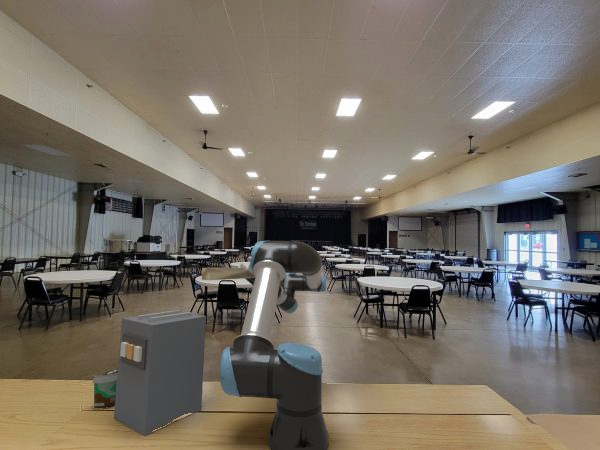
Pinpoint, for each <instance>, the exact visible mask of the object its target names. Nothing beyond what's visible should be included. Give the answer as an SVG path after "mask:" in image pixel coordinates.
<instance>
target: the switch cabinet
mask: <svg viewBox="0 0 600 450" xmlns="http://www.w3.org/2000/svg"><path fill="white" fill-rule="evenodd" d="M206 323H207V316H206V315H200V314H194V313H192V312H191V311H187V312H184V311H181V309H178V310H171V311H163V312H156V313H149V314H147V313H146V314H141V315H137V316H130V317H123V318H121V327H120V340H119V341H120V342H119V350H118V351H119V354H118V364H117V369H118V374H117V386H116V398H115V406H114V410H113V413H114V414H113V419H114V418H115V420H116V419H117V420H116V421H118V422H119V423H121V424H123V425H125V426H127V427H128V428H130V429H131V430H133V431H135V432H137V433H138V434H140V435H142V436H143V437H146V436H149V435H151V434H152V433H151V432H152V431H153V430H155V429H158V428H160V427H163V426H165V425H167V424H168V423H170V422H172V421H173V420H174V419H176V418H178V417H180V416H182V415H184V414H188V413H194V414H196V413H198V412H200V411H202V405H203V403H202V402H203V385H204V384H203V383H204V367H205V366H204V365H205V364H204V363H205V345H206V343H205V342H206V329H207V328H206V326H207V324H206ZM150 433H151V434H150Z"/></svg>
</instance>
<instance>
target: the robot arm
mask: <svg viewBox="0 0 600 450" xmlns="http://www.w3.org/2000/svg"><path fill="white" fill-rule="evenodd" d="M249 258H250V259H249V263H247V266H246V265H245V264H243V263H242V262H240V263H239V264H238V267H237V268H246V270H248V271H249V272H250V273H251V274H252V275H253V276H255V278H245V279H244V280H246V281H247V282H248V283H249V284H250V285H252V290H251V294H250V298H249V303H248V305H247V309H246V313H245V317H244V321H243V325H242V328H241V332H240V333H241V334H240V335H237V336H236V337H235V338H234V340H233V343H232V346H228V347H227V346H226V347H224V349H223V350H222V353H221V357H220V365H219V381H220V386H221V389H222V391H223V392H224V394H226V395H228V396H233V397H234V396H235V397H238V398H245V397H246V398H261V399H274V400H276V411H275V413H274V416H273V420H272V422H271V426H270V428H269V432H268V445H269V449H270V450H327V449H328V447H329V432H328V429H327V425H326V421H325V418H324V414H323V411H322V405H323V404H322V402H323V400H322V399H323V396H322V395H323V392H322V390H323V387H322V386H323V385H322V384H323V383H322V382H323V379H322V378H323V377H322V376H323V372H324V369H323V362H322V360H323V359H322V354H321V353H320V352H319V350H317V349H316V348H314V347H311V346H309V345H306V344H302V343H297V342H296V343H294V342H289V343H287V342H285V343H284V342H283V343H281V344H279V346H278V347H277V348H276V349H275V345H274V343H273V342H272V340H271V337H272V330H273V325H274V319H275V313H276V308H277V307H278V308H279V309H280V310H282V311H283V312H284V313H286V314H293V313H295V312H296V310H297V309H298V307H299V305H298V301H297V300H296V298H295V297H296V296H295V295H296V292H311V293H312V292H314V293H315V292H316V293H321V292H322V293H324V292H326V290H327V277H326V275H325V276H324V275H322V274H321V270H322V266H323V260H322V257H321V254H320V253H319V252H318V251H317V250H316V249H315V248H314V247H313V246H311V245H309V243H306V242H304V241H303V242H302V241H299V240H297V241H295V240H294V241H293V240H261V241H260V240H259V241H257V242H256V243H255V244H254V246H253V247H252V250H251V253H250V257H249ZM301 274H302V275H301Z"/></svg>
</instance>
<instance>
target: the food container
mask: <svg viewBox="0 0 600 450" xmlns="http://www.w3.org/2000/svg"><path fill="white" fill-rule="evenodd" d="M117 374H118V368H115V369H111V370H109V371H107V372H105V373H104V374H102V375H94V377H93V379H92V384H94V385H93V390H94V391H93V409H94V408H103V409H107V408H106V407H109V408H112V407H115V398H116V386H117Z"/></svg>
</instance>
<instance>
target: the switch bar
mask: <svg viewBox="0 0 600 450" xmlns="http://www.w3.org/2000/svg"><path fill="white" fill-rule="evenodd" d="M201 269H202V270H201V280H202V281H203V280H204V281H216V280H217V281H221V280H239V279H240V280H243V279H244V280H246V279H245V278H255V276H253V275H252V274H251V273H250V272H249V271H248V270H246V268H238V267H202V268H201Z"/></svg>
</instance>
